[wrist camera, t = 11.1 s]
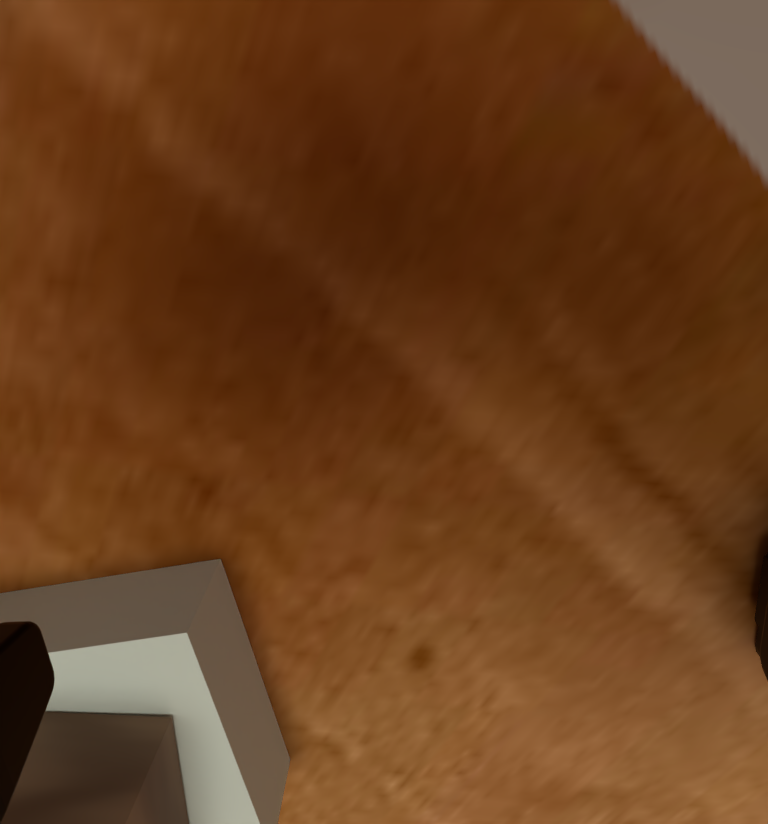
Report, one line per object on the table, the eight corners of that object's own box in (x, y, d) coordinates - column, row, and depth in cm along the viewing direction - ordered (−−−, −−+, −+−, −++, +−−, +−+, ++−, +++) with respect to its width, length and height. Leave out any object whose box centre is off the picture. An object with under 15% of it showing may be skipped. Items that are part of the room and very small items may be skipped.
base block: (223, 552, 23) (186, 632, 19) (291, 751, 26) (271, 853, 23) (-24, 591, 24) (-104, 674, 20) (71, 778, 27) (17, 880, 24)
